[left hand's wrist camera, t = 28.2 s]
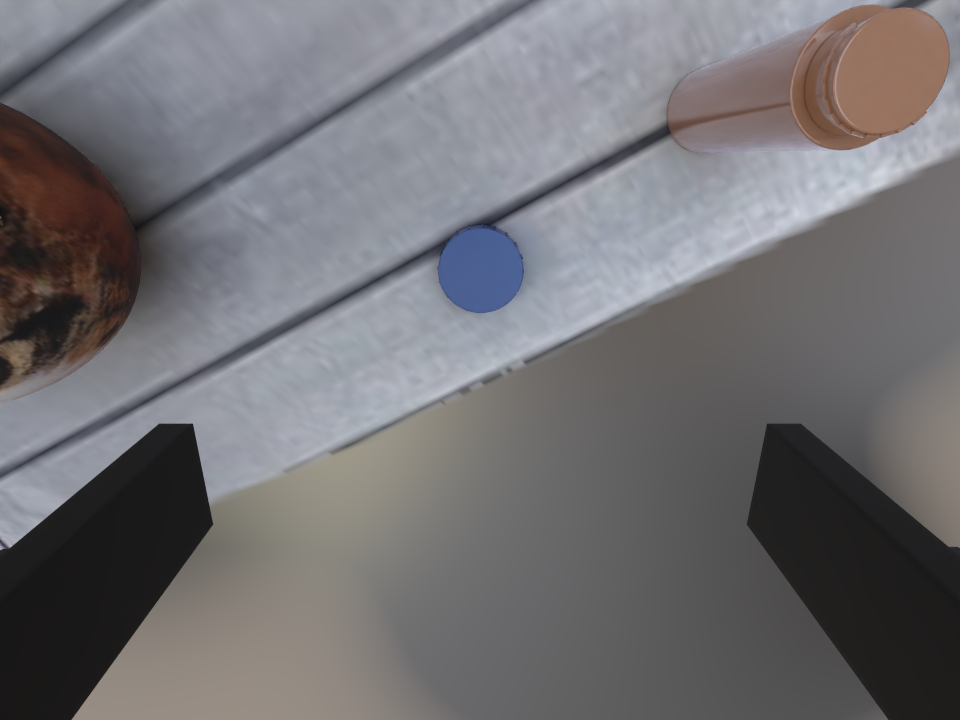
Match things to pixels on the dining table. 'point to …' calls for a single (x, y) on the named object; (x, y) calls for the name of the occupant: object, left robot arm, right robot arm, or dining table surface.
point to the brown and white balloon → (57, 258)
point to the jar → (816, 85)
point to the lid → (480, 268)
